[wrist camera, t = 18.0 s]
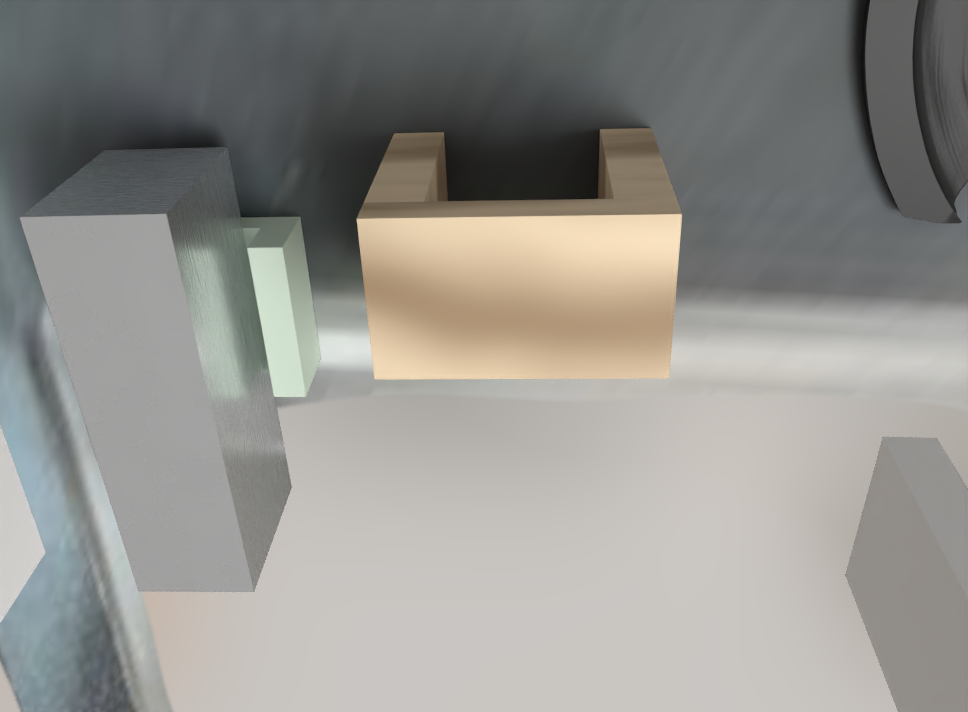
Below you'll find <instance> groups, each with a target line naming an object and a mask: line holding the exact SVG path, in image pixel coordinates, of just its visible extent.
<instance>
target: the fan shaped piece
mask: <svg viewBox="0 0 968 712" xmlns="http://www.w3.org/2000/svg"><path fill="white" fill-rule="evenodd" d="M862 81H863V93H864V102H865V109H866V115H867V121H868V126H869V130H870V135H871V139H872V143H873V147H874V150H875V154H876V157H877V160H878V163H879V166H880V169H881V172H882V174H883V177H884V179H885V181H886V184H887V186H888V188H889V190H890V192H891V194H892V196H893V198H894V200H895V202H896V204H897V206H898V208H899V210H900V212H901V214H902V216H904V217H907V218H913V219H918V220H925V221H929V222H934V223H960V222H962V221H961V220H960V219H959V218H958V217H957V214H956V209H955V205H954V202H955V199H956V197H957V196H958V194H959V192H960V190H961V189H962V188H963V187H964V185H965V184H966V183H967V181H968V0H867V4H866V11H865V19H864V27H863V44H862Z"/></svg>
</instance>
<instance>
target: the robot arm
mask: <svg viewBox="0 0 968 712" xmlns="http://www.w3.org/2000/svg"><path fill="white" fill-rule="evenodd" d="M44 554H45V549H44V547H43V544H42V541H41V538H40V535H39V533H38V530H37V527H36V524H35V521H34V519H33V516H32V513H31V510H30V507H29V504H28V502H27V499H26V496H25V493H24V490H23V488H22V485H21V482H20V479H19V476H18V474H17V471H16V468H15V465H14V462H13V460H12V457H11V454H10V451H9V448H8V445H7V443H6V440H5V437H4V434H3V431H2V429H1V426H0V623H1V621H2V620H3V618H4V617H5V615H6V613H7V612H8V610H9V609H10V607H11V606H12V604H13V602H14V601H15V599H16V598H17V596H18V595H19V593H20V591H21V590H22V588H23V587H24V585H25V584H26V582H27V581H28V579H29V577H30V576H31V574H32V573H33V571H34V570H35V568H36V566H37V565H38V563H39V562H40V560H41V559H42V557H43V555H44ZM845 575H846V578H847V580H848V583H849V586H850V588H851V591H852V594H853V596H854V598H855V601H856V604H857V606H858V609H859V612H860V614H861V617H862V619H863V622H864V624H865V627H866V630H867V632H868V635H869V638H870V640H871V643H872V645H873V648H874V650H875V653H876V655H877V658H878V660H879V663H880V666H881V668H882V671H883V673H884V676H885V679H886V681H887V684H888V687H889V689H890V692H891V695H892V697H893V700H894V702H895V705H896V707H897V710H898V712H968V488H967V487H966V485H965V483H964V482H963V480H962V478H961V477H960V475H959V473H958V472H957V470H956V468H955V467H954V465H953V463H952V462H951V460H950V458H949V457H948V455H947V453H946V452H945V450H944V449H943V447H942V446H941V444H940V442H939V440H938V439H937V438H911V437H883V438H882V442H881V446H880V450H879V453H878V457H877V461H876V464H875V468H874V471H873V475H872V479H871V482H870V486H869V490H868V494H867V497H866V501H865V505H864V508H863V512H862V516H861V519H860V523H859V527H858V530H857V534H856V538H855V541H854V545H853V549H852V553H851V556H850V560H849V563H848V567H847V571H846V574H845Z"/></svg>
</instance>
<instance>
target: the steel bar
mask: <svg viewBox="0 0 968 712" xmlns="http://www.w3.org/2000/svg"><path fill="white" fill-rule="evenodd" d="M20 220H21V223H22V227H23V230H24V233H25V236H26V239H27V242H28V245H29V249H30V252H31V255H32V258H33V261H34V264H35V267H36V271H37V274H38V277H39V280H40V283H41V286H42V289H43V293H44V296H45V299H46V302H47V305H48V308H49V311H50V314H51V318H52V321H53V324H54V327H55V330H56V333H57V336H58V340H59V343H60V346H61V349H62V352H63V355H64V358H65V362H66V365H67V368H68V371H69V374H70V377H71V380H72V384H73V387H74V390H75V393H76V396H77V399H78V402H79V406H80V409H81V412H82V415H83V418H84V421H85V424H86V427H87V431H88V434H89V437H90V440H91V443H92V446H93V449H94V453H95V456H96V459H97V462H98V465H99V468H100V471H101V475H102V478H103V481H104V484H105V487H106V490H107V493H108V497H109V500H110V503H111V506H112V509H113V512H114V515H115V519H116V522H117V525H118V528H119V531H120V534H121V537H122V540H123V544H124V547H125V550H126V553H127V556H128V559H129V562H130V566H131V569H132V572H133V575H134V578H135V581H136V584H137V588H138V591H166V592H168V591H169V592H170V591H171V592H174V591H176V592H180V591H181V592H182V591H183V592H197V591H198V592H254V591H255V588H256V585H257V582H258V579H259V577H260V574H261V571H262V568H263V566H264V563H265V560H266V557H267V555H268V551H269V549H270V546H271V543H272V541H273V538H274V535H275V532H276V530H277V527H278V524H279V521H280V519H281V516H282V513H283V510H284V507H285V505H286V502H287V499H288V496H289V494H290V491H291V488H292V486H291V480H290V475H289V470H288V465H287V460H286V454H285V449H284V444H283V438H282V433H281V428H280V422H279V417H278V411H277V406H276V401H275V397H274V394H273V388H272V383H271V377H270V371H269V366H268V360H267V355H266V349H265V344H264V338H263V332H262V327H261V321H260V316H259V311H258V306H257V300H256V295H255V290H254V284H253V279H252V274H251V268H250V263H249V258H248V253H247V247H246V242H245V237H244V231H243V226H242V221H241V215H240V210H239V205H238V200H237V194H236V189H235V184H234V178H233V173H232V168H231V163H230V157H229V152H228V147H210V148H173V149H137V150H104V151H103V152H102V153H100V154H99V155H98V156H97V157H95V158H94V159H93V160H91V161H90V162H89V163H88V164H86V165H85V166H84V167H83V168H81V169H80V170H79V171H78V172H76V173H75V174H74V175H72V176H71V177H70V178H69V179H67V180H66V181H65V182H64V183H62V184H61V185H60V186H58V187H57V188H56V189H55V190H53V191H52V192H51V193H50V194H48V195H47V196H46V197H45V198H43V199H42V200H41V201H39V202H38V203H37V204H36V205H34V206H33V207H32V208H31V209H29V210H28V211H27V212H25V213H24V214H23V215H22V216H20Z"/></svg>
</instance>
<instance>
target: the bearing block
mask: <svg viewBox="0 0 968 712" xmlns="http://www.w3.org/2000/svg"><path fill="white" fill-rule="evenodd" d="M681 221H682V213H681V210H680V207H679V204H678V202H677V199H676V196H675V193H674V190H673V188H672V185H671V182H670V179H669V177H668V174H667V171H666V168H665V165H664V163H663V160H662V157H661V154H660V152H659V149H658V146H657V143H656V140H655V138H654V135H653V132H652V129H651V128H632V129H600V147H599V181H598V199H566V200H501V201H448V194H447V177H446V160H445V142H444V132H431V133H394V135H393V137H392V139H391V142H390V144H389V146H388V149H387V151H386V153H385V155H384V158H383V160H382V162H381V164H380V167H379V169H378V171H377V174H376V176H375V178H374V180H373V183H372V185H371V187H370V189H369V192H368V194H367V196H366V199H365V201H364V203H363V205H362V208H361V210H360V212H359V214H358V217H357V227H358V236H359V245H360V254H361V262H362V271H363V280H364V289H365V298H366V307H367V316H368V325H369V334H370V343H371V352H372V360H373V369H374V378H375V379H595V378H669V373H670V360H671V348H672V335H673V322H674V310H675V297H676V284H677V272H678V259H679V246H680V233H681Z"/></svg>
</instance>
